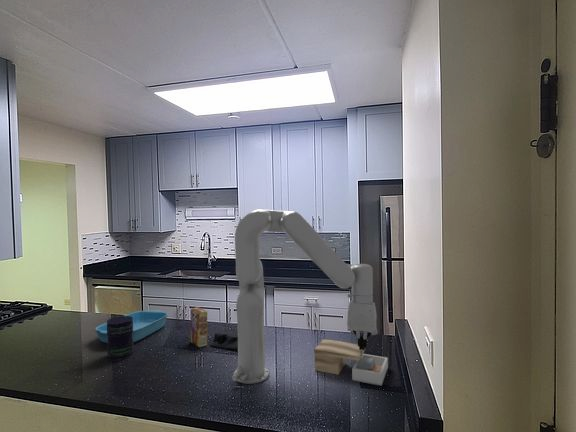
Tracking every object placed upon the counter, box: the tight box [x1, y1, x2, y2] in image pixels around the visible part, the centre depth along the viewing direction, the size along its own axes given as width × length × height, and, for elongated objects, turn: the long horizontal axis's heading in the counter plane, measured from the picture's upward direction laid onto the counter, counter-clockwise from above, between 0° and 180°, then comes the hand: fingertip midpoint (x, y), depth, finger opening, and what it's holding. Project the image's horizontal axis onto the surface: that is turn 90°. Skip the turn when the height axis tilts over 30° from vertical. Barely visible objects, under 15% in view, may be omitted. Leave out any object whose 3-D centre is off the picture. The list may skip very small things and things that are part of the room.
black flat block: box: [209, 332, 238, 351], centre depth 154 cm, size 15×22×5 cm
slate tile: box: [357, 358, 375, 369], centre depth 125 cm, size 5×5×2 cm
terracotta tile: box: [365, 365, 382, 373], centre depth 124 cm, size 5×5×2 cm
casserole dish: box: [95, 309, 169, 344], centre depth 169 cm, size 37×22×7 cm, turn 166°
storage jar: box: [106, 315, 134, 361], centre depth 143 cm, size 10×10×15 cm
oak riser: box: [313, 338, 366, 375], centre depth 129 cm, size 11×16×8 cm, turn 66°
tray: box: [351, 353, 389, 386], centre depth 125 cm, size 14×10×4 cm
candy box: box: [190, 307, 208, 348], centre depth 155 cm, size 9×4×15 cm, turn 39°
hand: (362, 348), depth 126 cm, fingers closed
